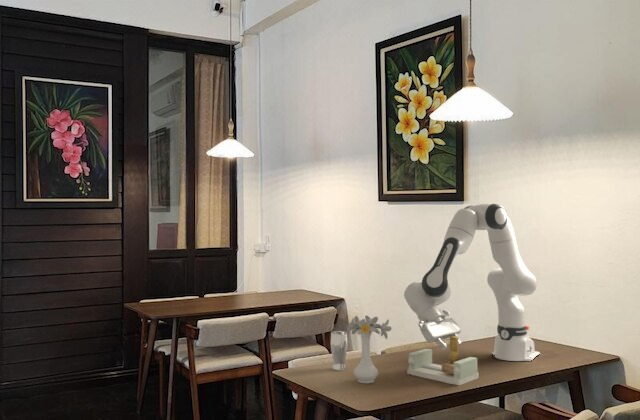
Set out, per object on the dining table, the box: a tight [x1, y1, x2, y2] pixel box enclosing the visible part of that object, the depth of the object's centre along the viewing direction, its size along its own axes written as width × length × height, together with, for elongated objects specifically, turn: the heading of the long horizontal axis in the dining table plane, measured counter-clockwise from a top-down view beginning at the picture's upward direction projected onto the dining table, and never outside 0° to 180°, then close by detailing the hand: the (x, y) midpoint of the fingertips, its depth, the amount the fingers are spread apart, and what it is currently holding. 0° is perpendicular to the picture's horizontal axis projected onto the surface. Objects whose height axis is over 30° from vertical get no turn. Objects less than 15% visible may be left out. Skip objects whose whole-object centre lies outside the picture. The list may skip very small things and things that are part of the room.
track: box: [406, 348, 480, 386], centre depth 256 cm, size 14×24×8 cm, turn 45°
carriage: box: [441, 336, 460, 374], centre depth 252 cm, size 10×5×13 cm, turn 135°
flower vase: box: [345, 315, 392, 384], centre depth 249 cm, size 13×18×25 cm
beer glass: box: [330, 330, 348, 372], centre depth 267 cm, size 7×7×15 cm
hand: (453, 346), depth 252 cm, fingers open, 8 cm apart
